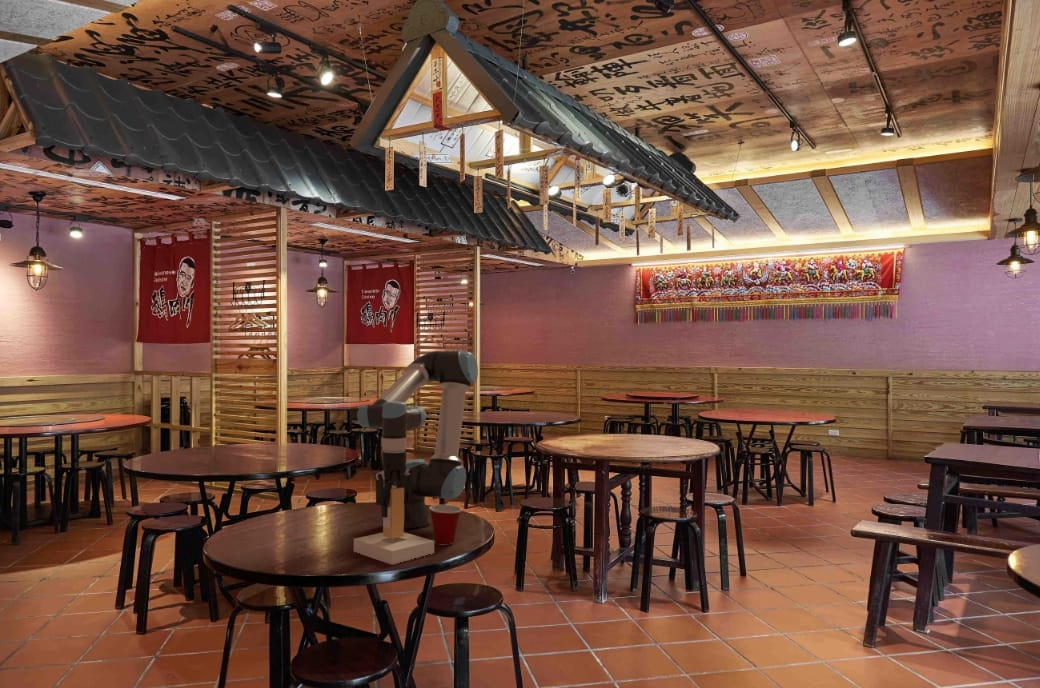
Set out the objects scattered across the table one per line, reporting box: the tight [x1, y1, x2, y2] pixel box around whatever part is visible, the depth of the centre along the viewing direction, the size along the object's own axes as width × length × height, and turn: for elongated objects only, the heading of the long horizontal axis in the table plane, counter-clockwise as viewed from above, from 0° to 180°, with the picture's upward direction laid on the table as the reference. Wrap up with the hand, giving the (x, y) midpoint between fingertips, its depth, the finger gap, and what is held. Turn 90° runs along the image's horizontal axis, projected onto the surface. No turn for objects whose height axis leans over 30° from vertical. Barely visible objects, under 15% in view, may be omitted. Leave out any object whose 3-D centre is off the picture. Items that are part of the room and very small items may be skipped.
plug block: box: [382, 485, 405, 539], centre depth 222 cm, size 4×4×15 cm
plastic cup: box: [428, 504, 463, 545], centre depth 232 cm, size 11×11×12 cm
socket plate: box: [353, 531, 435, 566], centre depth 222 cm, size 16×20×4 cm
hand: (393, 525), depth 222 cm, fingers closed on plug block, 4 cm apart
